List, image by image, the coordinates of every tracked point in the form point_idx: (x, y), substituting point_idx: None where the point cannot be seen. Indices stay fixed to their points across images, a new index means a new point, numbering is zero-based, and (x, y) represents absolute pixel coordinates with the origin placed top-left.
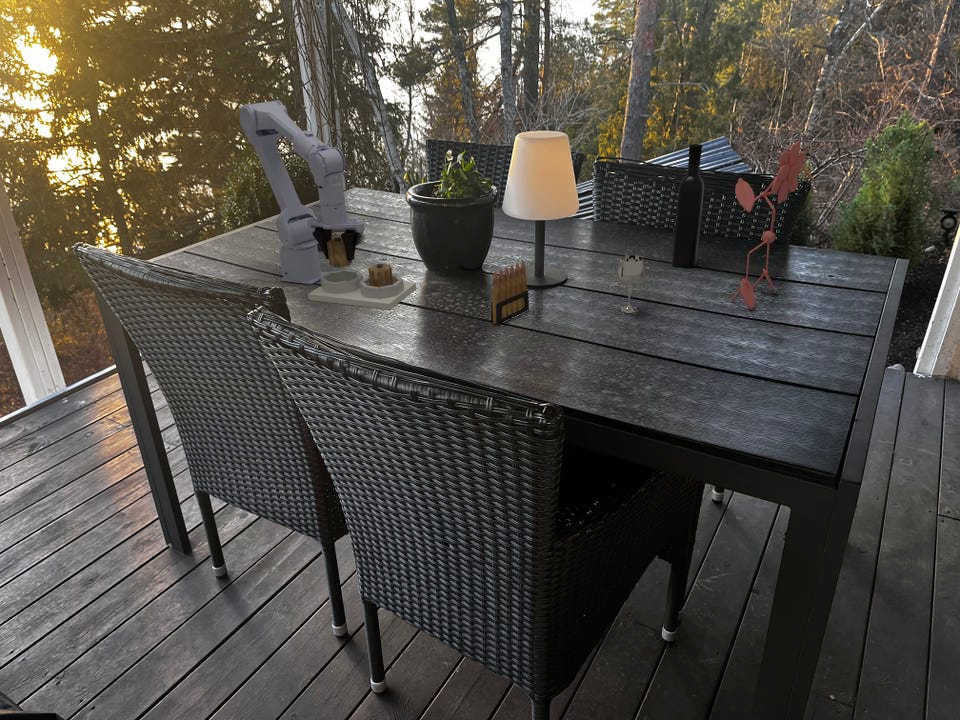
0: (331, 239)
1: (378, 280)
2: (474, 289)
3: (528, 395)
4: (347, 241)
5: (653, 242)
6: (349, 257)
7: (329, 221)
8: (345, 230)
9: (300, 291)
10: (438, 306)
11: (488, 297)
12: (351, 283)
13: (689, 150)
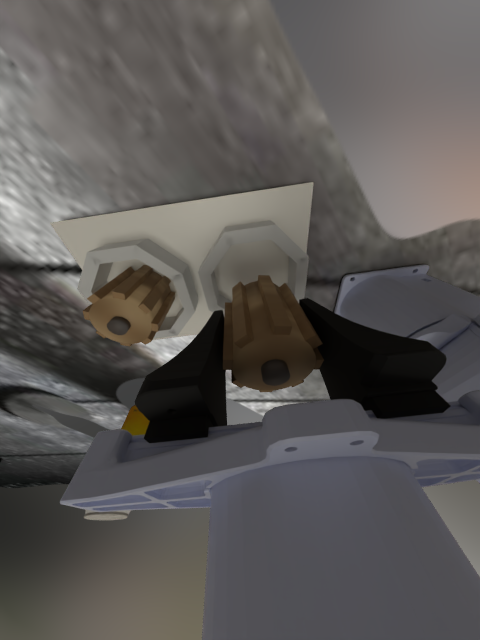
0: (312, 367)
1: (110, 281)
2: (60, 362)
3: None
4: (181, 360)
5: (65, 470)
6: (210, 317)
7: (314, 521)
8: (217, 427)
9: (356, 230)
10: (12, 286)
11: (4, 348)
12: (203, 263)
13: None
